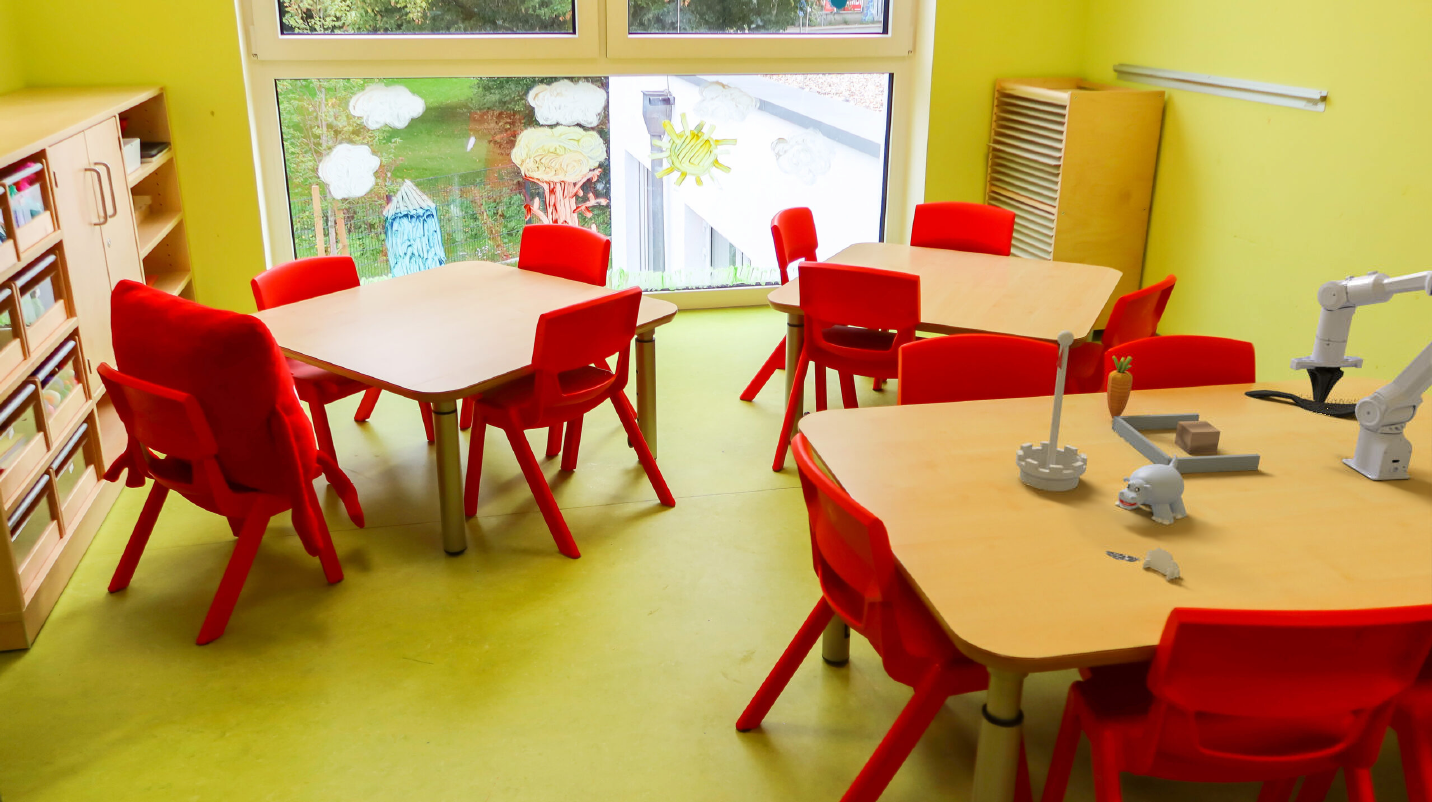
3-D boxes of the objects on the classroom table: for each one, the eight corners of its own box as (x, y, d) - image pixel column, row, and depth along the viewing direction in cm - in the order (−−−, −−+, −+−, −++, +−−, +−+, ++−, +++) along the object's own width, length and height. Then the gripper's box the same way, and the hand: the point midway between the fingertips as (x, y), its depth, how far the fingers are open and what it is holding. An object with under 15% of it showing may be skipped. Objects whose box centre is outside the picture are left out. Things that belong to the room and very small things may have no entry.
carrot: (1098, 418, 245) (1106, 354, 239) (1115, 415, 247) (1123, 351, 241) (1114, 425, 240) (1123, 360, 235) (1131, 422, 242) (1140, 357, 237)
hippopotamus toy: (1095, 512, 200) (1102, 464, 197) (1144, 492, 208) (1151, 445, 205) (1148, 534, 192) (1156, 484, 188) (1196, 512, 200) (1205, 464, 197)
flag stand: (1025, 461, 222) (1040, 317, 212) (1091, 474, 216) (1110, 327, 205) (1005, 483, 211) (1020, 334, 201) (1074, 499, 205) (1093, 345, 195)
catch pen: (1257, 469, 218) (1260, 455, 217) (1166, 473, 216) (1168, 459, 215) (1195, 425, 240) (1197, 413, 239) (1111, 429, 238) (1113, 416, 237)
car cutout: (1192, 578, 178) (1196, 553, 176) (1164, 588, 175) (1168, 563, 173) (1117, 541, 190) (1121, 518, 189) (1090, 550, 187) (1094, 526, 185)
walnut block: (1216, 453, 226) (1220, 431, 224) (1188, 454, 226) (1192, 432, 224) (1201, 442, 232) (1205, 420, 230) (1174, 443, 231) (1177, 421, 229)
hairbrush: (1250, 379, 263) (1369, 396, 248) (1248, 394, 264) (1367, 412, 249) (1241, 389, 256) (1363, 407, 242) (1239, 404, 258) (1361, 422, 243)
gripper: (1352, 331, 228) (1339, 393, 233) (1286, 333, 226) (1274, 395, 231) (1374, 341, 221) (1361, 404, 226) (1307, 343, 220) (1294, 407, 224)
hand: (1318, 401), depth 228 cm, fingers closed
